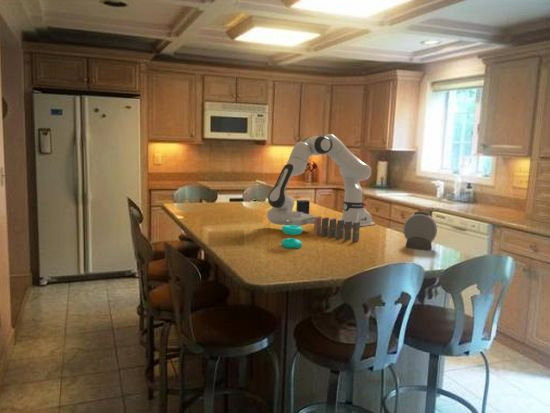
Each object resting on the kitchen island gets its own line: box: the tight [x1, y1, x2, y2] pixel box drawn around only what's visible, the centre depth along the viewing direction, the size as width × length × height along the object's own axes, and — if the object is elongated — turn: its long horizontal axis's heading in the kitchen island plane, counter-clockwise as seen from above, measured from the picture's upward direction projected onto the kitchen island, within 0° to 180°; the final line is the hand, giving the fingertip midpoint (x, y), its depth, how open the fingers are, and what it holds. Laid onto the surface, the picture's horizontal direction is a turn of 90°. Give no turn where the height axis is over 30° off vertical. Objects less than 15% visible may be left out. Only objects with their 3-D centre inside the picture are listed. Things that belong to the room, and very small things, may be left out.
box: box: [295, 199, 310, 214], centre depth 325 cm, size 8×6×11 cm
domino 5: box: [343, 220, 353, 242], centre depth 251 cm, size 2×5×10 cm, turn 148°
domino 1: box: [313, 215, 323, 237], centre depth 261 cm, size 2×5×10 cm, turn 148°
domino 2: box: [320, 216, 330, 238], centre depth 258 cm, size 2×5×10 cm, turn 148°
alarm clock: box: [402, 210, 438, 251], centre depth 239 cm, size 16×10×18 cm, turn 70°
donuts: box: [280, 225, 303, 249], centre depth 229 cm, size 10×10×10 cm
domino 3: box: [328, 217, 337, 239], centre depth 256 cm, size 2×5×10 cm, turn 148°
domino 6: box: [351, 221, 361, 243], centre depth 249 cm, size 2×5×10 cm, turn 148°
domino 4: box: [335, 218, 345, 240], centre depth 254 cm, size 2×5×10 cm, turn 148°
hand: (315, 222), depth 261 cm, fingers closed
